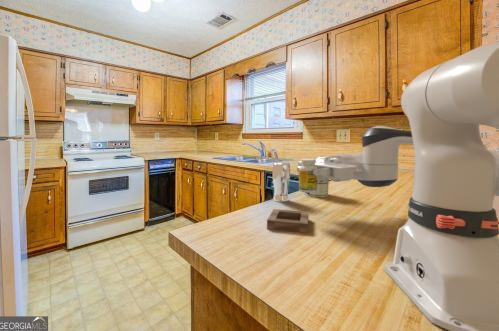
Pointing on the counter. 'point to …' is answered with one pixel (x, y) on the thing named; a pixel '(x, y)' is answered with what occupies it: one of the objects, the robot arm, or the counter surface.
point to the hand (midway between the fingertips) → (305, 170)
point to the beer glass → (281, 181)
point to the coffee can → (320, 187)
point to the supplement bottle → (307, 176)
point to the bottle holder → (288, 220)
